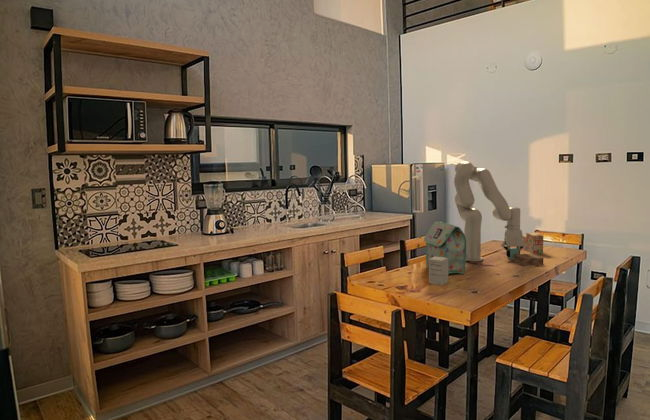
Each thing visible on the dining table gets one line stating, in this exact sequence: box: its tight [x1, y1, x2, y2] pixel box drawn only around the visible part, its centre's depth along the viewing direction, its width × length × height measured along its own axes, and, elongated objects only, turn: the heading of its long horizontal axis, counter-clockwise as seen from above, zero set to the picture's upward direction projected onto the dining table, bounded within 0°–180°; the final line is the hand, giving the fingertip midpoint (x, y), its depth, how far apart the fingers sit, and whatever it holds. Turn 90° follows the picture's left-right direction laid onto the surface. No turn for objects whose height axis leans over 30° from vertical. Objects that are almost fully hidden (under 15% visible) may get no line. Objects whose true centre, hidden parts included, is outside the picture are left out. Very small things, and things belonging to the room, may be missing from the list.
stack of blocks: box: [521, 231, 544, 255], centre depth 301 cm, size 21×6×12 cm, turn 177°
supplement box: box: [428, 257, 449, 286], centre depth 228 cm, size 7×7×13 cm
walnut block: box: [513, 253, 544, 266], centre depth 267 cm, size 12×12×4 cm
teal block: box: [506, 247, 519, 260], centre depth 281 cm, size 5×5×6 cm
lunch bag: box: [423, 220, 467, 275], centre depth 253 cm, size 23×16×27 cm
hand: (513, 256), depth 281 cm, fingers closed on teal block, 5 cm apart
